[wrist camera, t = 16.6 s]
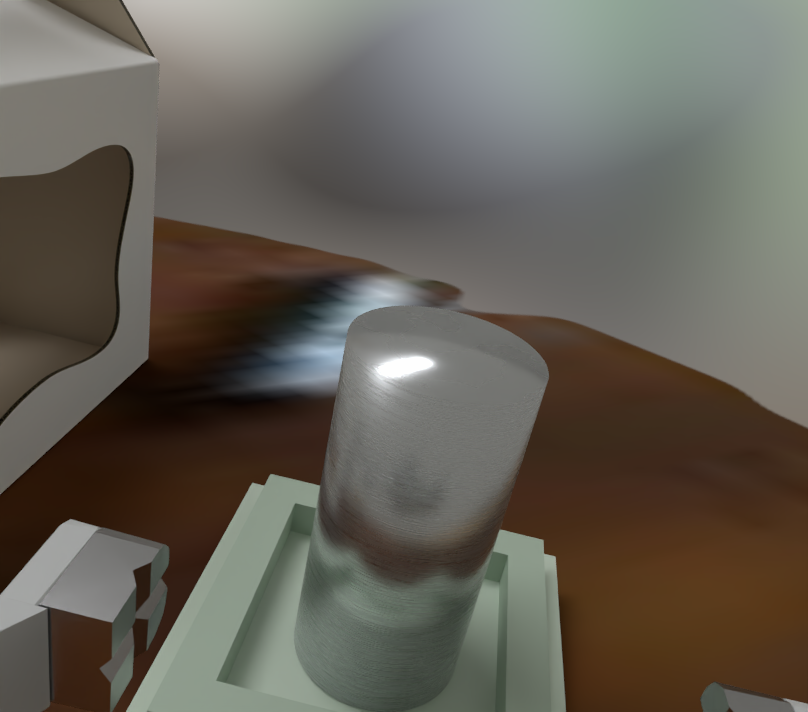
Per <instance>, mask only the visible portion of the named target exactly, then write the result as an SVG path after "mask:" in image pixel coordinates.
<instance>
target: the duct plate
mask: <svg viewBox="0 0 808 712" xmlns="http://www.w3.org/2000/svg"><path fill="white" fill-rule="evenodd" d="M319 489H320V486H318V485H314V484H310V483H306V482H302V481H298V480H294V479H290V478H285V477H281V476H277V475H273V474H270V476H269V478H268V480H267V482H266V484H265V486H263V485H259V484H255V483H252V484H251V486H250V488H249V490H248V492H247V494H246V495H245V497H244V499H243V501H242V503H241V504H240V506H239V508H238V510H237V512H236V513H235V515H234V517H233V519H232V521H231V523H230V524H229V526H228V528H227V530H226V532H225V533H224V535H223V537H222V539H221V541H220V542H219V544H218V546H217V548H216V550H215V552H214V553H213V555H212V557H211V559H210V561H209V562H208V564H207V566H206V568H205V570H204V571H203V573H202V575H201V577H200V579H199V581H198V582H197V584H196V586H195V588H194V590H193V591H192V593H191V595H190V597H189V599H188V600H187V602H186V604H185V606H184V608H183V610H182V611H181V613H180V615H179V617H178V619H177V620H176V622H175V624H174V626H173V628H172V629H171V631H170V633H169V635H168V637H167V639H166V640H165V642H164V644H163V646H162V648H161V649H160V651H159V653H158V655H157V657H156V658H155V660H154V662H153V664H152V666H151V668H150V669H149V671H148V673H147V675H146V677H145V678H144V680H143V682H142V684H141V686H140V687H139V689H138V691H137V693H136V695H135V697H134V698H133V700H132V702H131V704H130V706H129V707H128V709H127V711H126V712H373V711H367V710H363V709H359V708H356V707H353V706H350V705H347V704H345V703H343V702H341V701H338V700H337V699H335V698H333V697H332V696H330V695H328V694H327V693H326V692H325V691H323V690H322V689H321V688H319V687H318V686H317V685H316V684H315V683H314V682H313V681H312V680H311V678H310V677H309V676H308V674H307V673H306V672H305V670H304V669H303V667H302V665H301V663H300V661H299V659H298V656H297V654H296V649H295V645H294V629H295V623H296V617H297V612H298V606H299V601H300V595H301V589H302V584H303V578H304V573H305V567H306V562H307V556H308V550H309V545H310V539H311V534H312V528H313V523H314V517H315V511H316V506H317V500H318V495H319ZM400 712H566V704H565V690H564V675H563V660H562V646H561V631H560V616H559V602H558V587H557V572H556V558H555V557H554V556H550V555H546V554H544V546H543V540H541V539H537V538H532V537H528V536H524V535H520V534H516V533H512V532H508V531H504V530H500V531H499V534H498V537H497V540H496V543H495V546H494V549H493V553H492V556H491V559H490V562H489V565H488V568H487V571H486V574H485V577H484V581H483V584H482V587H481V590H480V593H479V596H478V599H477V602H476V605H475V608H474V612H473V615H472V618H471V621H470V624H469V627H468V630H467V633H466V636H465V640H464V643H463V646H462V649H461V652H460V655H459V658H458V661H457V664H456V668H455V670H454V673H453V676H452V678H451V680H450V681H449V683H448V685H447V686H446V687H445V688H444V690H443V691H442V692H441V693H440V694H439V695H437V696H436V697H435V698H434V699H432V700H431V701H429V702H427V703H426V704H423V705H421V706H419V707H417V708H413V709H410V710H406V711H400Z"/></svg>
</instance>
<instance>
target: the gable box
mask: <svg viewBox="0 0 808 712" xmlns="http://www.w3.org/2000/svg"><path fill="white" fill-rule="evenodd" d="M158 89H159V62H158V60H157V59H156V58H155V57H154V55H153V53H152V51H151V50H150V48H149V46H148V45H147V43H146V41H145V40H144V38H143V36H142V34H141V32H140V31H139V29H138V27H137V26H136V24H135V22H134V21H133V19H132V17H131V15H130V13H129V12H128V10H127V8H126V7H125V5H124V3H123V1H122V0H0V494H1V493H2V492H3V491H5V490H6V489H7V488H8V487H9V486H10V485H11V484H12V483H13V482H14V481H15V480H17V479H18V478H19V477H20V476H21V475H22V474H23V473H24V472H25V471H26V470H27V469H29V468H30V467H31V466H32V465H33V464H34V463H35V462H36V461H37V460H38V459H39V458H40V457H42V456H43V455H44V454H45V453H46V452H47V451H48V450H49V449H50V448H51V447H52V446H54V445H55V444H56V443H57V442H58V441H59V440H60V439H61V438H62V437H63V436H64V435H66V434H67V433H68V432H69V431H70V430H71V429H72V428H73V427H74V426H75V425H76V424H78V423H79V422H80V421H81V420H82V419H83V418H84V417H85V416H86V415H87V414H88V413H89V412H91V411H92V410H93V409H94V408H95V407H96V406H97V405H98V404H99V403H100V402H101V401H103V400H104V399H105V398H106V397H107V396H108V395H109V394H110V393H111V392H112V391H113V390H115V389H116V388H117V387H118V386H119V385H120V384H121V383H122V382H123V381H124V380H125V379H126V378H128V377H129V376H130V375H131V374H132V373H133V372H134V371H135V370H136V369H137V368H138V367H140V366H141V365H142V364H143V363H144V362H145V361H146V360H147V359H148V347H149V322H150V296H151V271H152V245H153V220H154V194H155V168H156V143H157V141H156V140H157V117H158Z"/></svg>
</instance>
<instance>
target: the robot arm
mask: <svg viewBox="0 0 808 712" xmlns="http://www.w3.org/2000/svg"><path fill="white" fill-rule="evenodd" d="M168 565H169V547H167V546H166V545H165V544H161V543H157V542H154V541H150V540H147V539H143V538H139V537H136V536H132V535H129V534H125V533H121V532H118V531H114V530H111V529H107V528H101V527H97V526H93V525H90V524H86V523H83V522H79V521H76V520H72V519H70V520H68V521H66V522H64V523H63V524H61V525H60V526H59V527H58V528H57V529H56V530H55V532H54V533H53V534H52V535H51V536H50V537H49V539H48V540H47V541H46V542H45V543H44V544H43V546H42V547H41V548H40V549H39V550H38V551H37V553H36V554H35V555H34V556H33V557H32V558H31V560H30V561H29V562H28V563H27V564H26V565H25V567H24V568H23V569H22V570H21V571H20V572H19V573H18V575H17V576H16V577H15V578H14V579H13V580H12V582H11V583H10V584H9V585H8V586H7V587H6V589H5V590H4V591H3V592H2V593H1V594H0V712H42V711H43V710H45V709H46V708H48V707H49V706H50V702H52V703H57V704H61V705H66V706H70V707H74V708H79V709H83V710H88V711H92V712H112V711H113V709H114V708H115V706H116V704H117V702H118V701H119V699H120V697H121V695H122V693H123V692H124V690H125V688H126V686H127V685H128V683H129V681H130V679H131V678H132V673H133V658H135V657H136V656H138V655H140V654H142V653H144V652H145V651H147V649H148V647H149V645H150V643H151V641H152V640H153V638H154V636H155V634H156V631H157V629H158V626H159V623H160V621H161V618H162V615H163V611H164V607H165V602H166V594H167V586H166V585H165V583H164V582H163V580H162V579H161V577H162V575H163V574H164V572H165V570H166V569H167V567H168ZM700 700H701V704H702V708H703V711H704V712H808V704H805V703H801V702H797V701H793V700H789V699H781V698H780V697H776V696H772V695H768V694H764V693H759V692H755V691H751V690H747V689H743V688H739V687H734V686H730V685H726V684H722V683H718V682H714V683H712V684H711V685H709V686H708V687H707V688H706V690H705V691H704V693H703V695H702V696H701V698H700Z"/></svg>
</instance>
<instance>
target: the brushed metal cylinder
mask: <svg viewBox="0 0 808 712" xmlns="http://www.w3.org/2000/svg"><path fill="white" fill-rule="evenodd" d="M548 377H549V372H548V368H547V365H546V363H545V361H544V360H543V358H542V357H541V356H540V354H539V353H538V352H537V351H536V350H535V349H534V348H533V347H531V346H530V345H529V344H528V343H526V342H525V341H524V340H522V339H521V338H519V337H518V336H516V335H514V334H513V333H511V332H509V331H507V330H505V329H503V328H501V327H499V326H497V325H494V324H492V323H490V322H487V321H484V320H482V319H479V318H476V317H473V316H469V315H466V314H462V313H458V312H454V311H449V310H445V309H438V308H432V307H423V306H392V307H384V308H379V309H375V310H371V311H369V312H366V313H364V314H362V315H360V316H358V317H357V318H356V319H355V320H354V321H353V322H352V323H351V325H350V326H349V329H348V333H347V339H346V344H345V350H344V355H343V361H342V367H341V372H340V378H339V383H338V389H337V394H336V400H335V406H334V411H333V417H332V422H331V428H330V433H329V439H328V445H327V450H326V456H325V461H324V467H323V472H322V478H321V484H320V489H319V495H318V500H317V506H316V511H315V517H314V523H313V528H312V534H311V539H310V545H309V550H308V556H307V562H306V567H305V573H304V578H303V584H302V589H301V595H300V601H299V606H298V612H297V617H296V623H295V629H294V645H295V649H296V654H297V656H298V659H299V661H300V663H301V665H302V667H303V669H304V670H305V672H306V673H307V674H308V676H309V677H310V678H311V680H312V681H313V682H314V683H315V684H316V685H317V686H318V687H319V688H321V689H322V690H323V691H325V692H326V693H327V694H328V695H330V696H332V697H333V698H335V699H337V700H338V701H341V702H343V703H345V704H347V705H350V706H353V707H356V708H359V709H363V710H367V711H373V712H400V711H406V710H410V709H413V708H417V707H419V706H421V705H423V704H426V703H427V702H429V701H431V700H432V699H434V698H435V697H436V696H437V695H439V694H440V693H441V692H442V691H443V690H444V688H445V687H446V686H447V685H448V683H449V681H450V680H451V678H452V676H453V673H454V670H455V668H456V664H457V661H458V658H459V655H460V652H461V649H462V646H463V643H464V640H465V636H466V633H467V630H468V627H469V624H470V621H471V618H472V615H473V612H474V608H475V605H476V602H477V599H478V596H479V593H480V590H481V587H482V584H483V581H484V577H485V574H486V571H487V568H488V565H489V562H490V559H491V556H492V553H493V549H494V546H495V543H496V540H497V537H498V534H499V531H500V528H501V525H502V521H503V518H504V515H505V512H506V509H507V506H508V503H509V500H510V497H511V494H512V490H513V487H514V484H515V481H516V478H517V475H518V472H519V469H520V466H521V462H522V459H523V456H524V453H525V450H526V447H527V444H528V441H529V438H530V434H531V431H532V428H533V425H534V422H535V419H536V416H537V413H538V410H539V406H540V403H541V400H542V397H543V394H544V391H545V388H546V385H547V382H548Z"/></svg>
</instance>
